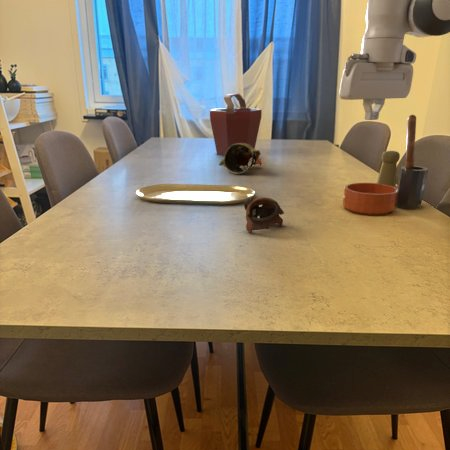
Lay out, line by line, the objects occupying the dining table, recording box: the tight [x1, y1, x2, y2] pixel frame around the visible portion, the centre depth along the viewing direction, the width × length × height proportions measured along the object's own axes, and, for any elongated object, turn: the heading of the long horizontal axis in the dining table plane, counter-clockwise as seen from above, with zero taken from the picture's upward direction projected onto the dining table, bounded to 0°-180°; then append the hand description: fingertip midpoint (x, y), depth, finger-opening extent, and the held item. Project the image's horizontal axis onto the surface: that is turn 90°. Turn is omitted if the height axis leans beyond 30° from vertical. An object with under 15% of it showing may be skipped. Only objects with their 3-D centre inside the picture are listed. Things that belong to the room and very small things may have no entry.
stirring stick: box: [405, 114, 417, 170], centre depth 113 cm, size 2×2×22 cm
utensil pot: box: [396, 165, 429, 210], centre depth 115 cm, size 7×7×10 cm
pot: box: [218, 143, 263, 175], centre depth 159 cm, size 17×11×18 cm
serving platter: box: [135, 183, 256, 206], centre depth 127 cm, size 19×35×2 cm, turn 82°
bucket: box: [209, 92, 263, 157], centre depth 193 cm, size 24×22×25 cm
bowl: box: [342, 182, 399, 216], centre depth 114 cm, size 13×13×6 cm
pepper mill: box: [376, 150, 401, 188], centre depth 135 cm, size 6×6×11 cm
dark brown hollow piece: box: [243, 196, 285, 234], centre depth 100 cm, size 12×10×8 cm
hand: (371, 119), depth 105 cm, fingers closed
